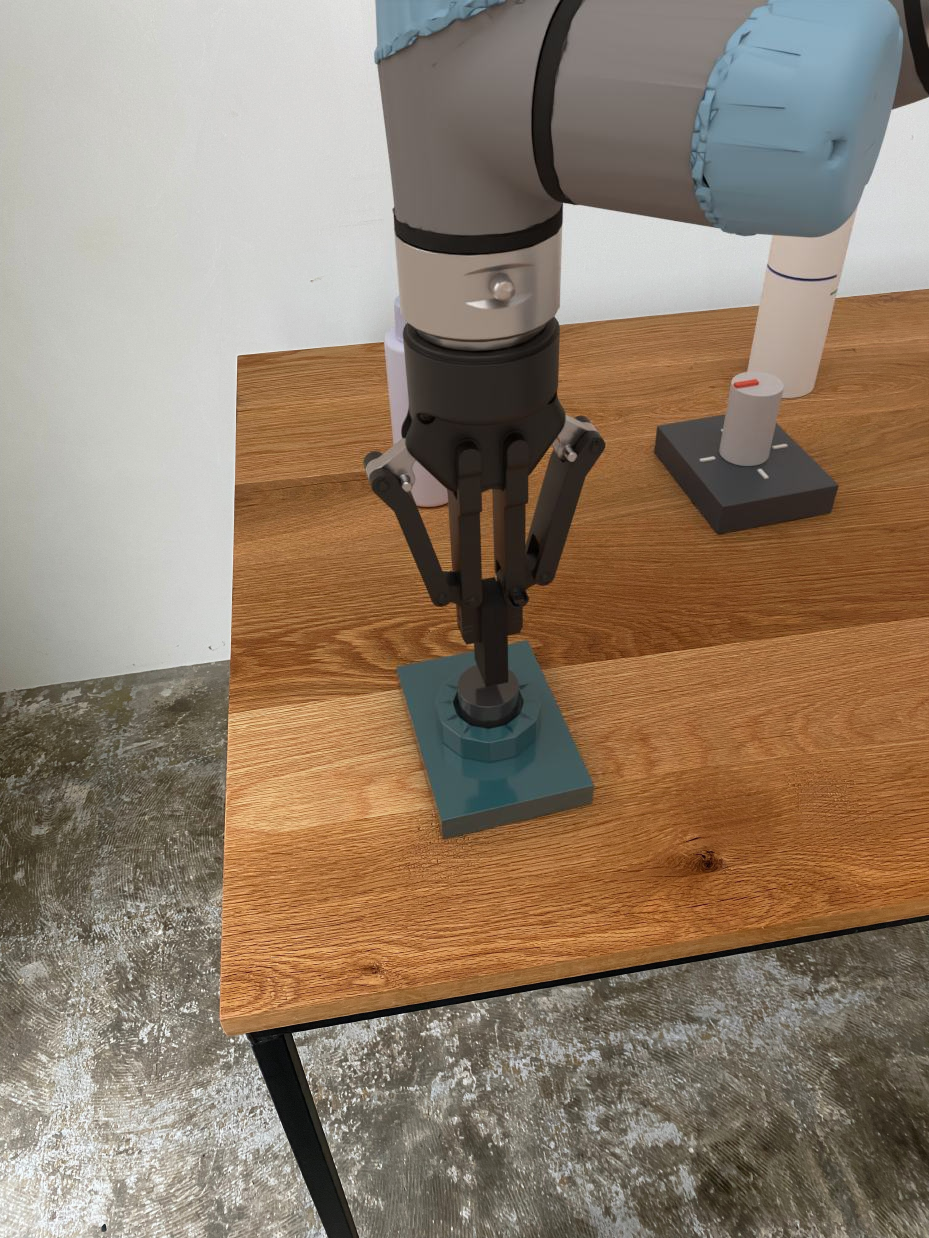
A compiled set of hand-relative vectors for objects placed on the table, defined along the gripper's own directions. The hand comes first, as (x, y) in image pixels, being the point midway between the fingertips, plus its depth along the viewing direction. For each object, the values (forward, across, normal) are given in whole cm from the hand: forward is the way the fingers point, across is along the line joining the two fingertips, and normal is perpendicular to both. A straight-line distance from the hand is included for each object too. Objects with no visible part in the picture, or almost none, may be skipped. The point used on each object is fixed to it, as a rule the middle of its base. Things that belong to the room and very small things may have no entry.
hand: (491, 670), depth 60 cm
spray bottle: (+7, +3, +31) cm, 32 cm away
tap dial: (+4, +31, +24) cm, 39 cm away
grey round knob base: (+7, 0, 0) cm, 7 cm away
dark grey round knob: (+4, 0, 0) cm, 4 cm away
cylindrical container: (+7, +44, +40) cm, 60 cm away
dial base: (+7, +31, +24) cm, 40 cm away
